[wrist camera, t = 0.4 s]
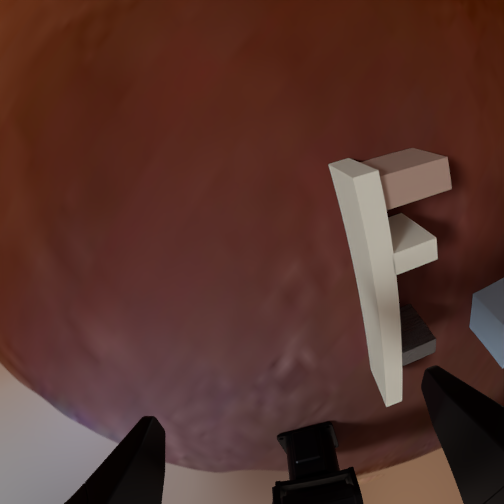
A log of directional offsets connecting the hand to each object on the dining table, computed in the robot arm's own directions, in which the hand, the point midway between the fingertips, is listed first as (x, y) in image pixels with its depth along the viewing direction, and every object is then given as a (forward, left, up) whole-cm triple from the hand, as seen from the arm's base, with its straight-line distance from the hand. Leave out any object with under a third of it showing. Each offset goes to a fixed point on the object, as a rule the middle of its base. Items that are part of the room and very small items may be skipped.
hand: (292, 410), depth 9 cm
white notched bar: (-6, -9, -14) cm, 18 cm away
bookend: (-13, -9, -14) cm, 21 cm away
